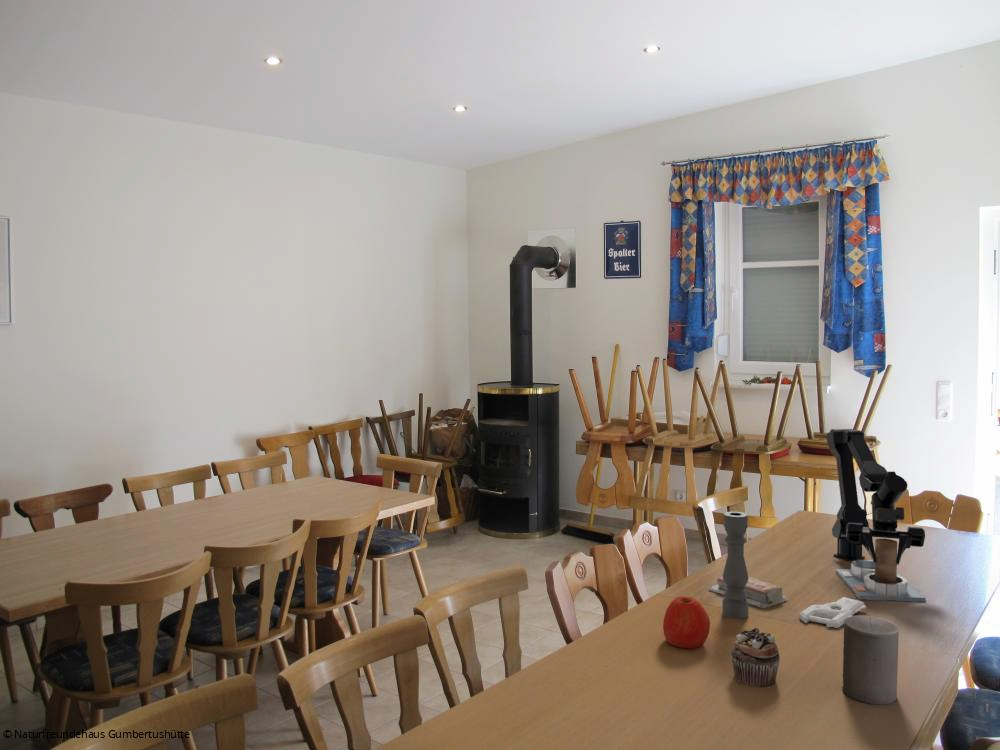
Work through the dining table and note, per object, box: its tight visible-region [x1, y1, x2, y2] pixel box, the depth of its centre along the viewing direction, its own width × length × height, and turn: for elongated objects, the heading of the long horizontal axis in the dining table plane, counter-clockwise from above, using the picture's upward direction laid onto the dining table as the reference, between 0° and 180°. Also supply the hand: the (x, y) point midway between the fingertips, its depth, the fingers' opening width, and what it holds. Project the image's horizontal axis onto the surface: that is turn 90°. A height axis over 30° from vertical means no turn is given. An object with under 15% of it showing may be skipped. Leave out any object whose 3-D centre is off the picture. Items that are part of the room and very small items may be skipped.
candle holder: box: [722, 511, 749, 620], centre depth 198 cm, size 6×6×25 cm
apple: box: [662, 596, 711, 649], centre depth 181 cm, size 10×10×10 cm
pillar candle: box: [841, 614, 900, 705], centre depth 155 cm, size 10×10×15 cm
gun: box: [798, 596, 867, 629], centre depth 197 cm, size 18×4×10 cm
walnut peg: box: [874, 538, 898, 584], centre depth 212 cm, size 5×5×12 cm
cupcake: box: [729, 627, 781, 688], centre depth 163 cm, size 10×10×10 cm
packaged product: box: [708, 574, 788, 609], centre depth 213 cm, size 18×5×10 cm
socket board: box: [835, 559, 927, 603], centre depth 218 cm, size 23×16×4 cm
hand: (886, 562), depth 211 cm, fingers closed on walnut peg, 5 cm apart
